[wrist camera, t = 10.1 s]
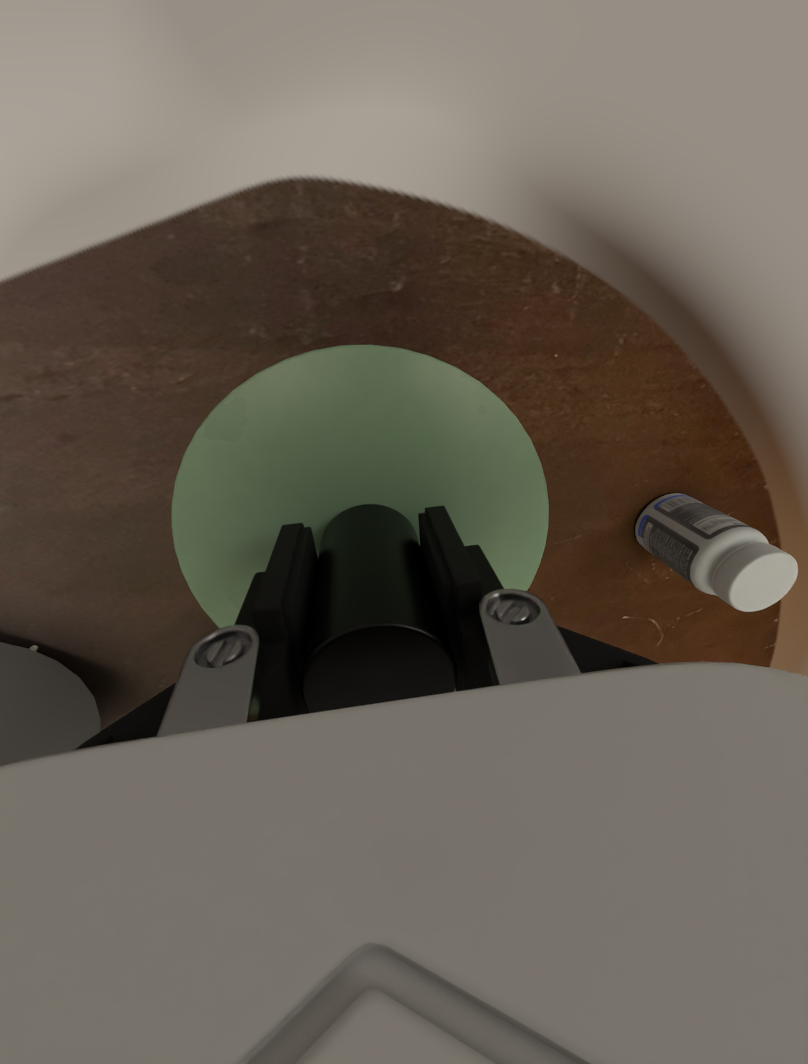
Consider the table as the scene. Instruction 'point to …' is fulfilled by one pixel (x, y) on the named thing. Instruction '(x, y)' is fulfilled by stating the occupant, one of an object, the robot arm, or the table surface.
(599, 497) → the table surface
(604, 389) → the table surface
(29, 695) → the alarm clock
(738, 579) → the pill bottle
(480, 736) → the robot arm
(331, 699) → the tin lid
